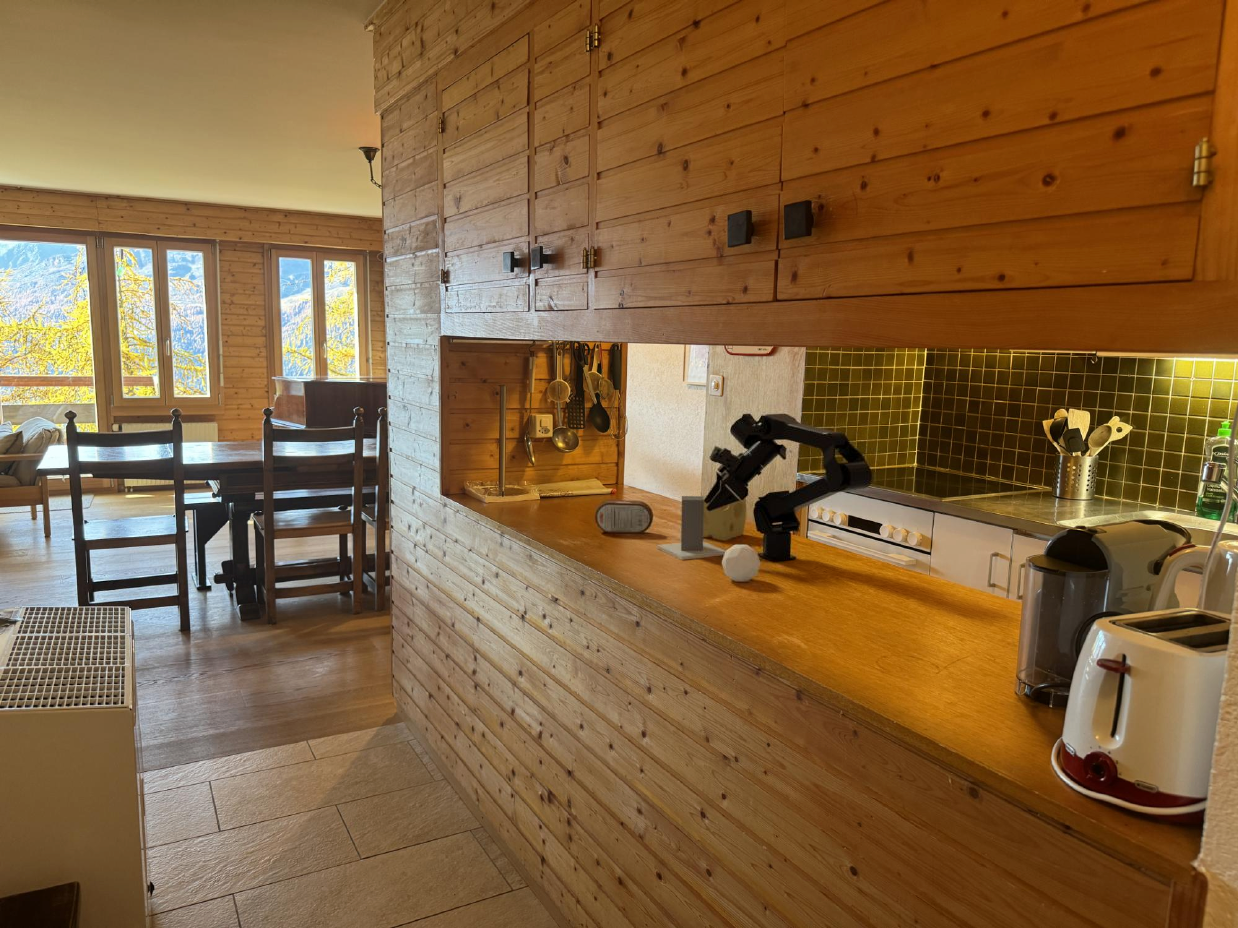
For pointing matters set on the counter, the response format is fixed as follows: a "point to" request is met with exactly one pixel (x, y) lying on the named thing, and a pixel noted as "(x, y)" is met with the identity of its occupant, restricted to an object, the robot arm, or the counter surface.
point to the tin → (623, 516)
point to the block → (692, 523)
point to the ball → (741, 563)
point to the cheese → (725, 520)
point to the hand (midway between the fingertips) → (706, 505)
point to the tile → (676, 551)
